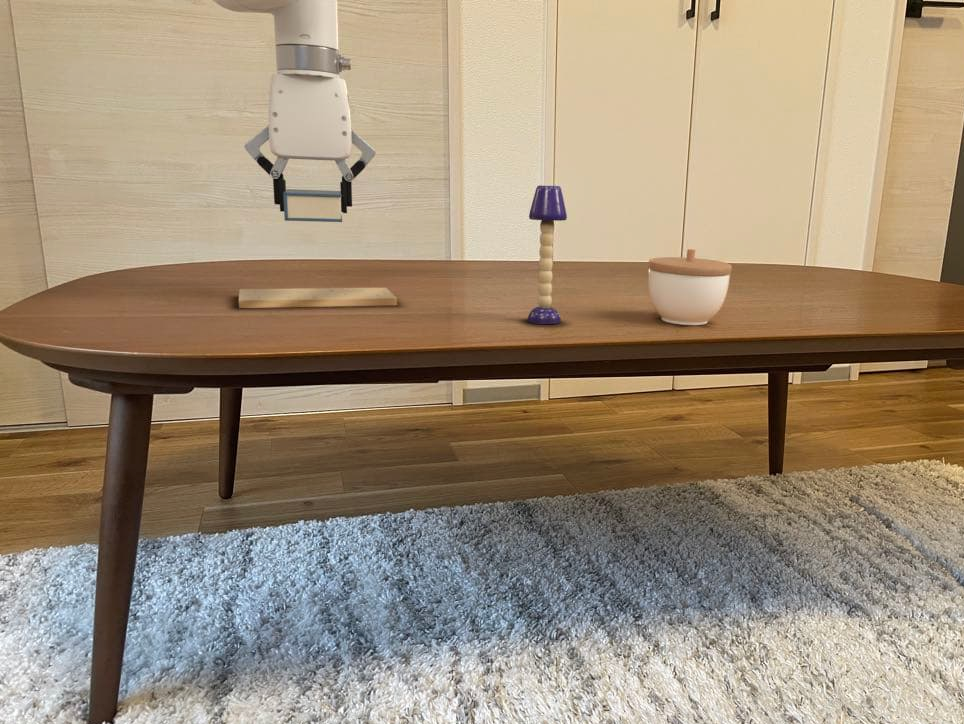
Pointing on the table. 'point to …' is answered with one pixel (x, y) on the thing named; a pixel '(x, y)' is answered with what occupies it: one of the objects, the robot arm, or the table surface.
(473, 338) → the table surface
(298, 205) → the blue rectangular block
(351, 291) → the birch board
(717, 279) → the trinket box
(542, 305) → the toy lamp
